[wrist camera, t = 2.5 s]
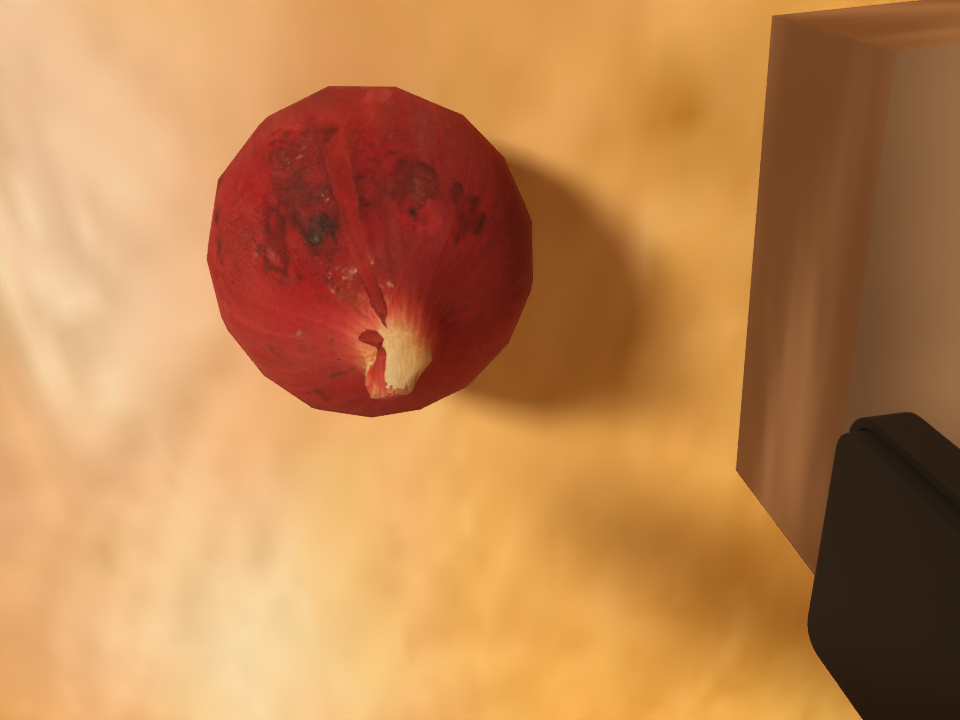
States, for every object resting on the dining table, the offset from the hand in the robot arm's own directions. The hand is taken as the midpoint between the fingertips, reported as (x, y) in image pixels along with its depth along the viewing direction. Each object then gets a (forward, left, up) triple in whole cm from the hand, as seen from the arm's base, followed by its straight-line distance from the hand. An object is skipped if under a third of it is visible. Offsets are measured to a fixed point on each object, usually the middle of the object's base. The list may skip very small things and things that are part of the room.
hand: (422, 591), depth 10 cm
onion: (0, 0, -12) cm, 12 cm away
